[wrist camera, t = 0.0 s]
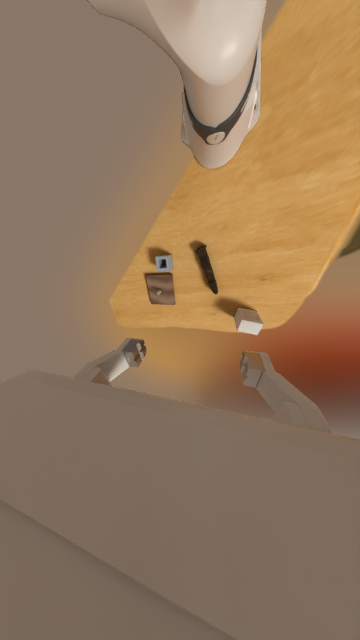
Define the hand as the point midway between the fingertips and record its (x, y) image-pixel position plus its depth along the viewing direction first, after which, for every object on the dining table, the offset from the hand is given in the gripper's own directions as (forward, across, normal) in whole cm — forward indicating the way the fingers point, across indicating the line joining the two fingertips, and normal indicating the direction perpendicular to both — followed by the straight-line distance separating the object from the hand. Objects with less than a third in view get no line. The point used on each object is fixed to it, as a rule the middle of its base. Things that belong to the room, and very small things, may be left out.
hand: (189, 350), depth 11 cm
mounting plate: (+48, +22, +12) cm, 54 cm away
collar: (+48, +18, 0) cm, 51 cm away
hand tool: (+48, 0, +4) cm, 49 cm away
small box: (+48, -16, +23) cm, 56 cm away
